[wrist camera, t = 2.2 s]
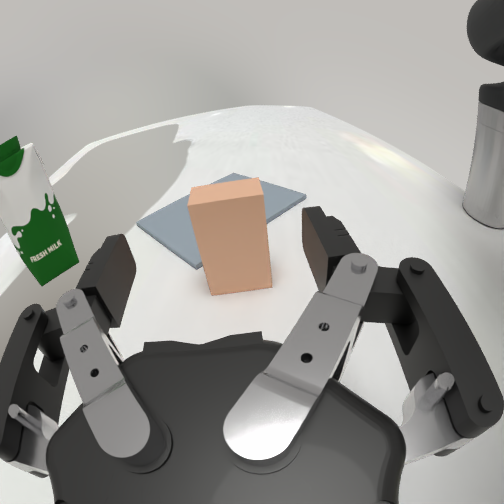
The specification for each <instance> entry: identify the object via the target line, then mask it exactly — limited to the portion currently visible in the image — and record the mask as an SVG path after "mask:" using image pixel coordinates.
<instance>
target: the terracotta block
mask: <svg viewBox="0 0 504 504" xmlns="http://www.w3.org/2000/svg"><path fill="white" fill-rule="evenodd" d="M187 207H188V211H189V215H190V219H191V222H192V226H193V230H194V234H195V238H196V242H197V245H198V249H199V253H200V256H201V260H202V264H203V267H204V271H205V274H206V278H207V281H208V285H209V288H210V292H211V295H212V296H213V295H221V294H228V293H236V292H243V291H251V290H258V289H265V288H272V278H271V267H270V256H269V245H268V235H267V224H266V214H265V204H264V194H263V191H262V187H261V184H260V180H259V177H258V178H251V179H243V180H236V181H229V182H223V183H216V184H210V185H204V186H198V187H192V188H191V192H190V196H189V200H188V205H187Z"/></svg>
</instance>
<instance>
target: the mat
mask: <svg viewBox="0 0 504 504" xmlns="http://www.w3.org/2000/svg"><path fill="white" fill-rule="evenodd" d="M243 179H251V178H250V177H246V176H243V175H239V174H236V173H233V174H230V175H228V176H226V177H224V178H222V179H220V180H218V181H215V182H213V183H211V184H216V183H223V182H229V181H236V180H243ZM260 184H261V187H262V191H263V194H264V204H265V214H266V224H267V223H269V222H270V221H272V220H273V219H275V218H276V217H278V216H279V215H281V214H282V213H284V212H286V211H287V210H289V209H290V208H292V207H293V206H295V205H296V204H298V203H300V202H301V201H303V200H304V199H306V194H303V193H300V192H296V191H293V190H290V189H287V188H284V187H280V186H277V185H274V184H270V183H267V182H264V181H260ZM209 185H210V184H209ZM189 196H190V194H189V195H187V196H185V197H183V198H181V199H179V200H177V201H175V202H173V203H171V204H169V205H167V206H165V207H164V208H162V209H160V210H158V211H156V212H154V213H152V214H150V215H149V216H147V217H145V218H143V219H141V220H139V221H138V222H136V223H137V226H139V227H140V228H141V229H142V230H144V231H145V232H146V233H148V234H149V235H150V236H152V237H153V238H154V239H156V240H157V241H158V242H160V243H161V244H162V245H164V246H165V247H167V248H168V249H169V250H171V251H172V252H173V253H175V254H176V255H177V256H179V257H180V258H182V259H183V260H184V261H186V262H187V263H188V264H190V265H191V266H193V267H194V268H195V269H198V268H200V267H201V266H203V264H202V260H201V256H200V253H199V249H198V245H197V242H196V238H195V234H194V230H193V226H192V222H191V219H190V215H189V211H188V207H187V205H188V200H189Z"/></svg>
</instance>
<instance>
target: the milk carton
mask: <svg viewBox="0 0 504 504" xmlns="http://www.w3.org/2000/svg"><path fill="white" fill-rule="evenodd" d="M35 150H36V151H37V149H36V148H35V146H34V144H33V143H30V144H28V145H26V146H24V147H21V148H20V144H19V141H18V138H17V136H15V137H13V138H12V139H10V140H8V141H6V142H5V143H3V144H1V145H0V218H1V220H2V223H3V225H4V227H5V229H6V231H7V233H8V235H9V237H10V239H11V241H12V243H13V244H14V246H15V248H16V250H17V252H18V253H19V255H20V257H21V258H22V260H23V262H24V263H25V264H26V266H27V267H28V269H29V270H30V271H31V273H32V274H33V275H34V277H35V278H36V279H37V281H38V282H39V283H40V285H41V286H43V285H45V284H46V283H48V282H49V281H51V280H52V279H54V278H55V277H57V276H58V275H60V274H61V273H63V272H65V271H66V270H68V269H69V268H71V267H72V266H74V265H76V264H77V263H79V260H78V257H77V254H76V251H75V248H74V245H73V242H72V239H71V236H70V233H69V229H68V227H67V224H66V221H65V219H64V216H63V214H62V211H61V209H60V206H59V204H58V202H57V199H56V197H55V194H54V192H53V189H52V186H51V184H50V181H49V178H48V176H47V173H46V171H45V169H44V167H43V165H42V163H43V162H42V163H41V161H42V159H41V161H40V159H39V157H38V155H37V153H38V151H37V153H36V151H35ZM38 154H39V153H38ZM40 158H41V157H40Z"/></svg>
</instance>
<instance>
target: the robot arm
mask: <svg viewBox="0 0 504 504" xmlns="http://www.w3.org/2000/svg"><path fill="white" fill-rule="evenodd" d="M467 35H468V38H469V41H470V44H471V46H472V47H473V49H474V51H475V52H476V53H477V54H478V55H480V56H481V57H482V58H484V59H486V60H488V61H491V62H493V63H496V64H499V65H502V66H504V0H478V1H476V2H475V4H474V5H473V6H472V8H471V10H470V12H469V15H468V20H467ZM463 207H464V209H465V210H466V212H467V213H468V214H469V215H471V216H472V217H473V218H474V219H476V220H478V221H479V222H481V223H483V224H485V225H488V226H491V227H494V228H504V82H501V83H496V84H483V85H481V87H480V89H479V103H478V116H477V128H476V136H475V143H474V150H473V156H472V162H471V168H470V173H469V178H468V182H467V187H466V192H465V196H464V200H463ZM302 243H303V249H304V252H305V255H306V258H307V260H308V263H309V266H310V268H311V271H312V273H313V276H314V279H315V282H316V284H317V287H318V290H319V291H317V292H316V293H315V294H314V296H313V298H312V299H311V301H310V302H309V304H308V306H307V307H306V309H305V311H304V312H303V314H302V315H301V317H300V318H299V320H298V322H297V323H296V325H295V326H294V328H293V329H292V331H291V333H290V334H289V336H288V337H287V339H286V340H285V342H284V343H283V344H281V343H278V342H274V341H268V340H263V338H262V331H260V332H252V333H244V334H236V335H230V336H227V337H224V338H221V339H217V340H214V341H211V342H208V343H205V344H200V345H198V344H190V343H183V342H177V341H158V342H144V348H143V351H142V352H139V353H137V354H134V355H132V356H130V357H129V358H127V359H126V360H124V358H123V356H122V354H121V353H120V351H119V349H118V348H117V346H116V344H115V342H114V340H113V339H112V337H111V335H110V334H109V328H118V327H120V325H121V321H122V317H123V314H124V310H125V307H126V304H127V300H128V297H129V294H130V290H131V287H132V284H133V281H134V278H135V275H136V264H135V260H134V258H133V255H132V253H131V250H130V248H129V245H128V243H127V240H126V238H125V236H124V235H123V234H118V235H113V236H108V237H107V238H106V239H105V241H104V243H103V245H102V247H101V248H100V249H98V250H97V252H95V253H94V254H93V256H92V257H91V259H90V261H89V263H88V265H87V267H86V269H85V271H84V273H83V275H82V277H81V278H80V281H79V283H78V285H77V287H76V289H73V290H70V291H68V292H66V293H65V294H63V295H62V296H61V297H60V299H59V300H58V302H57V305H56V308H54V309H51V310H48V311H46V312H45V311H44V310H43V309H42V307H41V306H40V305H39V304H33V305H30V306H29V307H27V308H26V309H25V310H24V311H23V312H22V313H21V315H20V317H19V319H18V321H17V323H16V325H15V328H14V330H13V333H12V335H11V337H10V339H9V342H8V344H7V347H6V349H5V352H4V355H3V357H2V360H1V363H0V458H1V459H2V460H3V461H5V462H7V463H9V464H11V465H13V466H15V467H17V468H19V469H21V470H23V471H25V472H29V473H31V474H33V475H35V476H38V477H40V478H45V477H47V476H48V475H49V477H50V480H51V484H52V489H53V494H54V503H55V504H399V502H398V494H399V484H400V479H401V474H402V470H403V467H404V465H406V464H409V463H412V462H415V461H417V460H420V459H423V458H425V457H428V456H430V455H433V454H434V455H436V456H446V455H448V454H450V453H452V452H454V451H455V450H457V449H459V448H460V447H462V446H464V445H465V444H467V443H468V442H470V441H471V440H473V439H474V438H476V437H477V436H479V435H480V434H482V433H483V432H485V431H486V430H488V429H489V428H490V427H492V426H493V425H494V424H496V423H497V422H498V421H499V419H500V418H501V416H502V414H503V410H504V400H503V396H502V394H501V391H500V389H499V387H498V384H497V382H496V380H495V377H494V375H493V373H492V371H491V369H490V367H489V364H488V362H487V360H486V358H485V356H484V354H483V352H482V350H481V348H480V346H479V344H478V343H477V341H476V339H475V337H474V335H473V333H472V331H471V330H470V328H469V326H468V324H467V322H466V321H465V319H464V317H463V315H462V314H461V312H460V310H459V309H458V307H457V305H456V304H455V302H454V300H453V299H452V297H451V296H450V294H449V292H448V291H447V289H446V288H445V286H444V285H443V283H442V281H441V280H440V278H439V277H438V275H437V274H436V272H435V271H434V270H433V268H432V267H431V265H430V264H428V263H427V262H426V261H424V260H422V259H419V258H413V257H411V258H406V259H404V260H402V261H401V262H400V265H399V268H386V267H380V266H378V265H377V262H376V261H375V260H374V259H373V258H372V257H370V256H368V255H366V254H362V253H361V252H360V251H359V249H358V247H357V246H356V244H355V243H354V241H353V239H352V238H351V236H349V233H348V232H347V230H346V229H345V227H344V225H343V224H342V222H341V221H339V220H338V219H336V218H335V217H333V216H327V217H326V216H325V214H324V212H323V211H322V209H321V207H320V206H316V207H307V208H303V209H302ZM364 322H375V323H385V325H386V327H387V330H388V332H389V335H390V337H391V340H392V342H393V345H394V347H395V350H396V353H397V355H398V358H399V361H400V363H401V366H402V369H403V372H404V375H405V377H406V380H407V383H408V386H409V389H410V393H409V394H408V396H407V397H406V398H405V400H404V402H403V406H402V412H403V422H402V425H401V426H400V427H398V425H397V424H396V423H395V422H394V421H393V420H392V419H391V418H390V417H388V416H387V415H385V414H384V413H383V412H381V411H380V410H378V409H377V408H375V407H374V406H372V405H371V404H369V403H368V402H366V401H365V400H364V399H362V398H361V397H359V396H358V395H356V394H355V393H354V392H352V391H351V390H349V389H348V388H347V387H345V386H344V385H342V384H341V383H340V380H341V378H342V375H343V373H344V371H345V368H346V366H347V363H348V361H349V358H350V356H351V353H352V351H353V349H354V347H355V344H356V342H357V340H358V337H359V335H360V332H361V330H362V327H363V325H364ZM37 348H39V350H40V351H41V352H42V353H43V354H44V357H43V360H42V363H41V367H40V370H39V373H38V372H37V371H36V370H35V368H34V364H33V361H34V357H35V354H36V351H37ZM69 368H70V371H71V374H72V376H73V379H74V382H75V384H76V387H77V389H78V392H79V394H80V397H81V399H82V401H83V403H82V404H81V405H80V406H79V407H78V408H77V409H76V410H75V411H74V412H73V413H72V415H71V416H70V417H69V418H68V419H67V420H66V421H65V422H64V423H63V424H62V425H61V426H60V427H58V422H59V416H60V410H61V405H62V400H63V395H64V390H65V385H66V381H67V377H68V372H69Z"/></svg>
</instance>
